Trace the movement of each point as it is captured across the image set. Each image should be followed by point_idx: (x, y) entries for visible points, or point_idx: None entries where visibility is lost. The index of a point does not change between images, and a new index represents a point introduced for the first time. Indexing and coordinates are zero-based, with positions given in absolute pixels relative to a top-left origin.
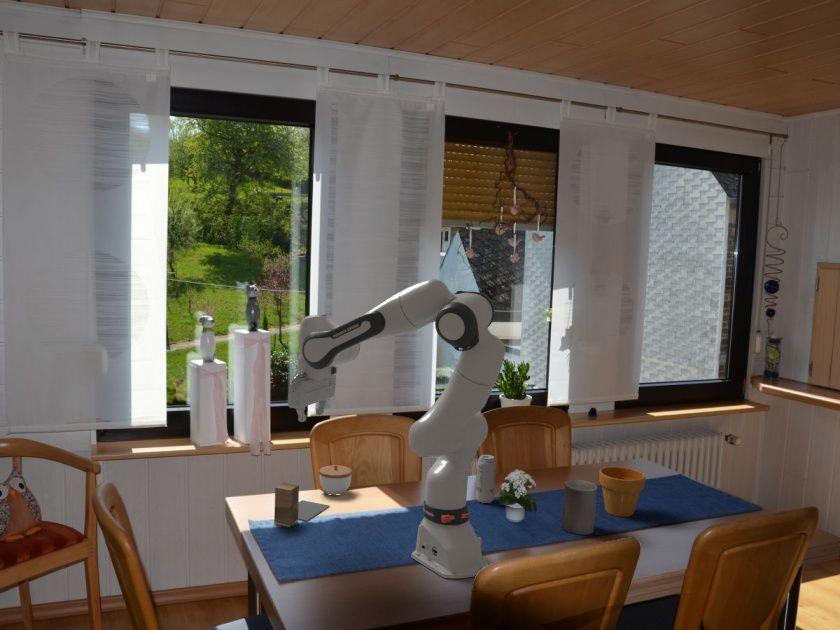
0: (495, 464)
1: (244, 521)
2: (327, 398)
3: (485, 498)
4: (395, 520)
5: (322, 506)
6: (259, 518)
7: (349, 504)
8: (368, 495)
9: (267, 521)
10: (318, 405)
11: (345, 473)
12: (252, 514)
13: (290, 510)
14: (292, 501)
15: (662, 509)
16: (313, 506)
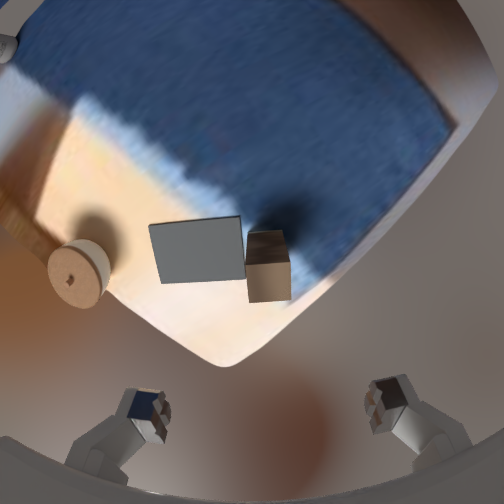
0: None
1: (299, 305)
2: (64, 466)
3: (13, 38)
4: (133, 79)
5: (160, 235)
6: None
7: (116, 202)
8: (66, 201)
9: None
10: (132, 453)
11: (70, 252)
12: (265, 313)
13: (280, 241)
14: (274, 249)
15: None
16: (172, 249)
